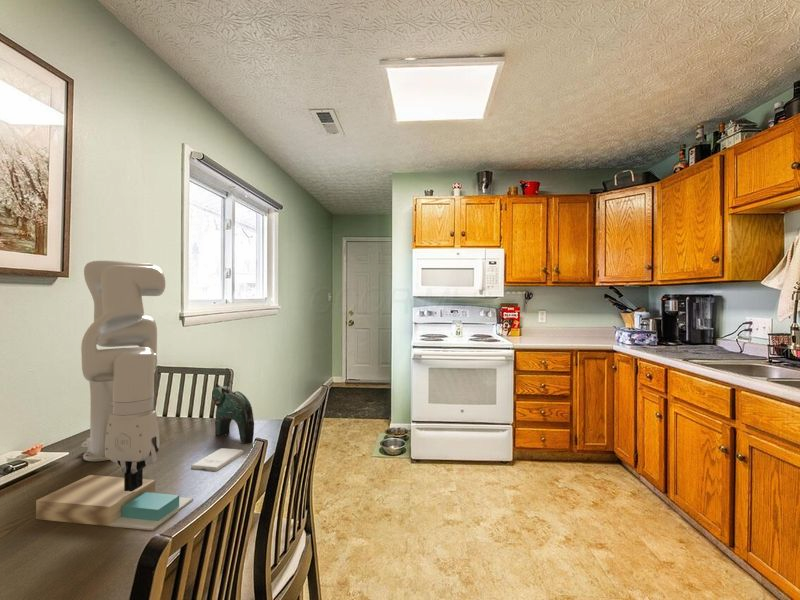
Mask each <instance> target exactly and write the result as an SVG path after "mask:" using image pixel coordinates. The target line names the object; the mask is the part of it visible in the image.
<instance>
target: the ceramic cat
mask: <svg viewBox="0 0 800 600" xmlns="http://www.w3.org/2000/svg"><path fill="white" fill-rule="evenodd" d="M229 382H230V384H231V385H233V384H234V383H233V381H232V379H227V381H226V383H227V384H226V385H224V386H220V384H219V383H216V384H215V388H213V390H212V391H211V392H212V393H211V403H212V404H213V405H214V406H215V407H216V410H215V419H214V429H215V430H214V435H215V434H216V435H215V436H217V435H219V436H218V437H223V436H222V435H224V436H226V435H225V434H227V435H229V434H230V427H231V426H230V425H231V422H232V421H234V422H235V423H236V425H237V428H238V434H239V440H240V444H241V445H244V446H246V445H249V444H252V443H253V441H254V434H255V433H254V432H255V419H254V413H253V412H254V411H253V407H252V405H251V402H250V401H249V399H248V398H247V396H246V395H245V394H243V393H242V392H241V391H237V390H236V391H233V390H232V388H231V387H230V386H229ZM228 433H229V434H228Z"/></svg>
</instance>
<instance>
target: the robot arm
mask: <svg viewBox="0 0 800 600" xmlns="http://www.w3.org/2000/svg"><path fill="white" fill-rule="evenodd" d="M83 276H84V281H85V284H86V286H87V288H88V290H89V292H90V295H91V296H92V300H93V309H94V310H93V322H92V323H91V324H90V325H89V327H88V328H87V329H86V331H85V333H84V334H83V337H82V340H81V345H80V347H81V348H80V350H81V351H80V352H81V371H82V376H83V377H84V379H85V380H86V381H88V382H89V392H90V417H89V418H90V420H89V421H90V425H89V426H90V427H89V428H90V431H89V433H90V434H89V435H90V436H89V437H87V438H86V439H85V441H83V442H82V443H81V444H80V446H81V447H84V448H87V451H85V452H84V453H83V456H82V457H83V460H84V461H87V462H104V461H109V460H110V461H111V462H113V463H116V464H118V465H119V466H120V470H121V473H123V474H124V477H123V478H124V491H130V492H132V491H134V490H135V489H137V488H139V487H140V486H142V484H143V479H144V477H143V470H144V469H145V468H146V466H148V465H152V464H154V463H157V462H158V457H157V454H158V453H159V451H160V445H161V444H160V443H161V442H160V427H159V420H158V415H157V411H156V410H155V373H156V370H157V367H158V356H157V355H158V354H157V353H158V350H157V349H158V328H157V323H156V320H155V319H154V318H153V317H151V316H149V315H145V310H144V303H143V297H159V296H162V295H163V293H164V292H165V289H166V277H165V274H164V272H163V270H162V268H160V267H159V266H157V265H156V264H153V263H148V262H135V261H134V262H133V261H122V260H121V261H119V260H93V261H89V262H87V263H86V264H85V266H84V269H83ZM97 346H99V347H103V348H101V349H98V348H97Z"/></svg>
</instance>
